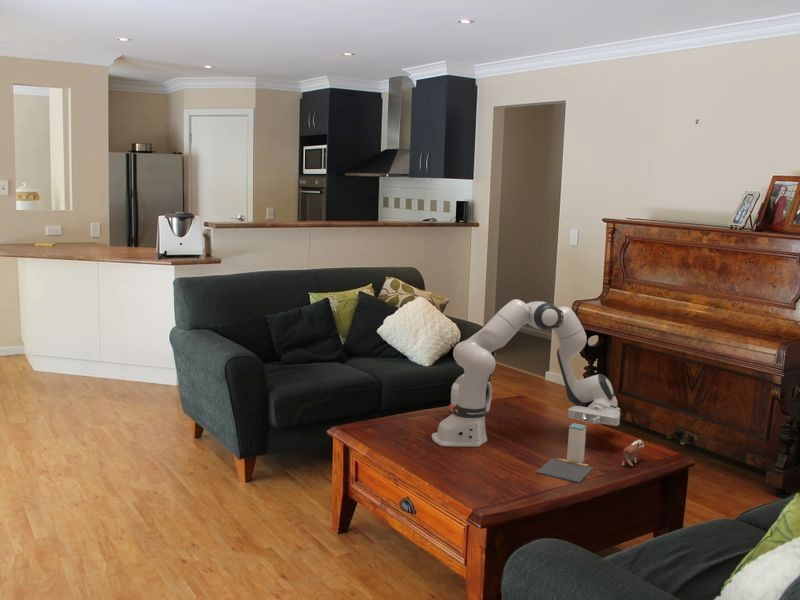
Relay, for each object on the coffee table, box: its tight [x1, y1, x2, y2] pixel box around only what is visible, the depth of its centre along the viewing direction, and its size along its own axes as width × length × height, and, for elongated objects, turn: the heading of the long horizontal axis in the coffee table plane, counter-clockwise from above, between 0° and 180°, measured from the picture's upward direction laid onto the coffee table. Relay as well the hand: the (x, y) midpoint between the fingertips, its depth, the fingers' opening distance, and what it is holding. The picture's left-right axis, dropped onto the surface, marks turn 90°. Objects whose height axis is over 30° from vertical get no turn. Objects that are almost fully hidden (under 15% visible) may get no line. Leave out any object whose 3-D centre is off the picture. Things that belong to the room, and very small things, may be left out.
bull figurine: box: [621, 439, 645, 467], centre depth 292 cm, size 4×13×8 cm, turn 137°
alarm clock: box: [450, 373, 493, 413], centre depth 342 cm, size 18×8×20 cm, turn 119°
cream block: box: [566, 423, 587, 463], centre depth 291 cm, size 5×5×14 cm
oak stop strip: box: [555, 457, 589, 467], centre depth 289 cm, size 12×2×1 cm, turn 59°
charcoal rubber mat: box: [535, 458, 595, 484], centre depth 282 cm, size 16×17×1 cm
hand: (588, 420), depth 301 cm, fingers closed
